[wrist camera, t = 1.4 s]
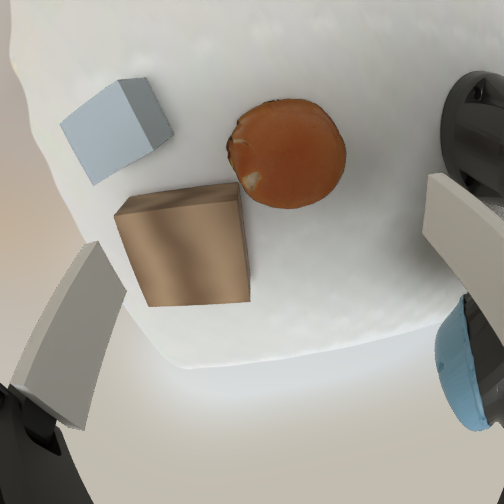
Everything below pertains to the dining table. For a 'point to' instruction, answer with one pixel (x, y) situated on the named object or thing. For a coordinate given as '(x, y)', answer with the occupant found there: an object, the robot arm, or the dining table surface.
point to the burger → (287, 153)
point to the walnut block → (187, 245)
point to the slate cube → (116, 128)
